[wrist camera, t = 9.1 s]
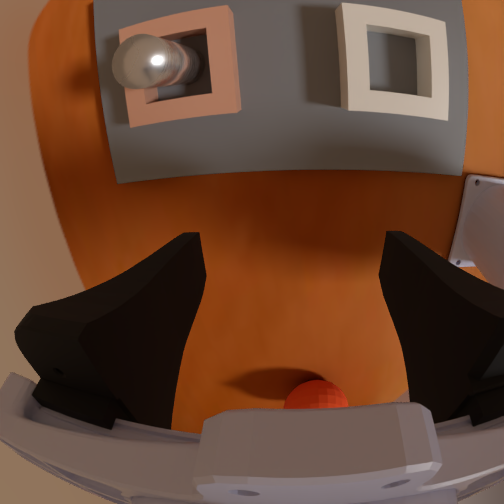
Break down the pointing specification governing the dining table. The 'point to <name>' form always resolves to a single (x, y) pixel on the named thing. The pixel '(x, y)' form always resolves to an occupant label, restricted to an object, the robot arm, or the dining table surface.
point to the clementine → (315, 396)
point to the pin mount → (427, 54)
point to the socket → (220, 60)
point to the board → (286, 95)
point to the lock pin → (155, 63)
